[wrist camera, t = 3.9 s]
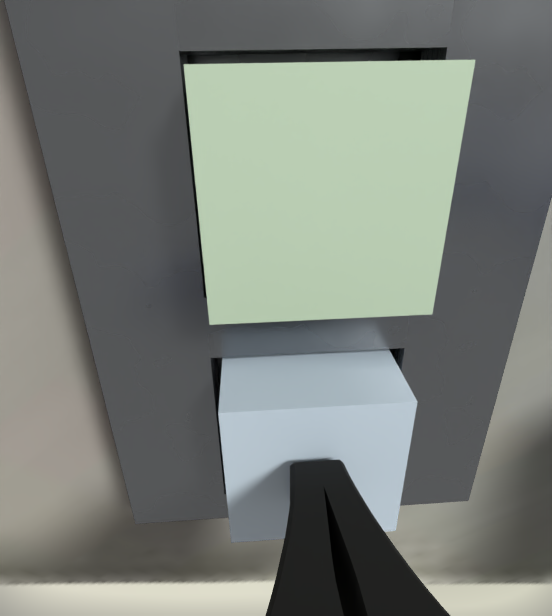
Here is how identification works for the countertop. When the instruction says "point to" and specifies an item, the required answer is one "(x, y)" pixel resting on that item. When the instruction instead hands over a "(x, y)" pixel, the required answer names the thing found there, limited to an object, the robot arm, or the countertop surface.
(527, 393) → the countertop surface
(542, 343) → the countertop surface
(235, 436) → the blue-grey button
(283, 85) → the sage button
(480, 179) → the button panel
